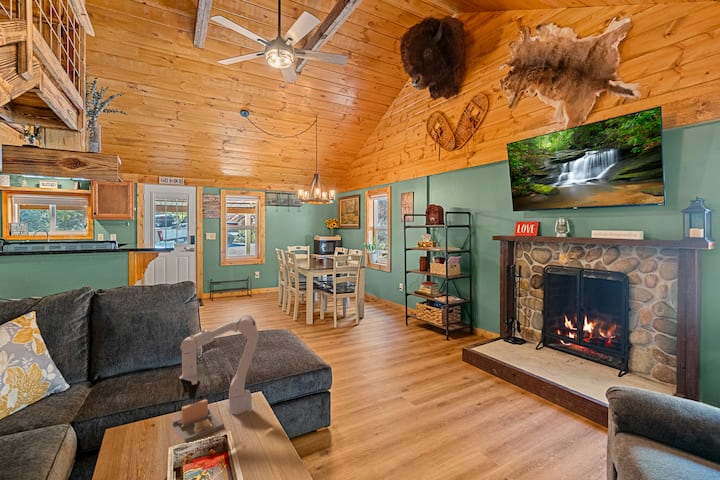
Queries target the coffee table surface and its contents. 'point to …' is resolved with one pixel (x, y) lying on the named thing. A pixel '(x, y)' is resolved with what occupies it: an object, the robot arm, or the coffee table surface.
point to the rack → (188, 429)
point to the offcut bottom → (203, 429)
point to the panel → (194, 411)
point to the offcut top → (202, 425)
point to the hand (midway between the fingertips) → (189, 395)
